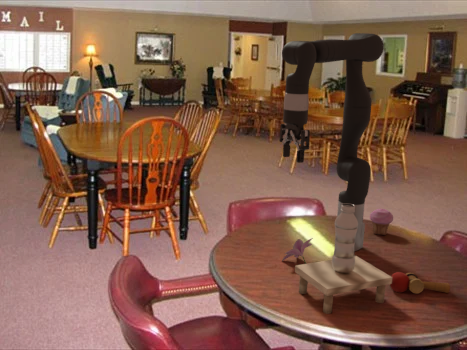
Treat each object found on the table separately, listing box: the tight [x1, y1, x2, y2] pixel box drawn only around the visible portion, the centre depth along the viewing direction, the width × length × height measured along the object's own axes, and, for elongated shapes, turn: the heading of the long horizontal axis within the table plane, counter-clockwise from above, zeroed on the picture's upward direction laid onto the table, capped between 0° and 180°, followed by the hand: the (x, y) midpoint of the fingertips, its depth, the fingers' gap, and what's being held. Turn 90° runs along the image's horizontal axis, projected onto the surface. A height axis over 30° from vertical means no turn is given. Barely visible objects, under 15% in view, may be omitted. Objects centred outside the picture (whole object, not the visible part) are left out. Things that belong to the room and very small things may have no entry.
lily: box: [281, 237, 314, 264], centre depth 189 cm, size 12×12×10 cm
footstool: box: [294, 255, 392, 315], centre depth 165 cm, size 22×17×8 cm
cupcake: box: [369, 207, 394, 236], centre depth 220 cm, size 9×9×10 cm
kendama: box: [389, 271, 451, 294], centre depth 171 cm, size 8×6×18 cm
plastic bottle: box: [331, 203, 358, 273], centre depth 162 cm, size 6×7×20 cm
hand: (292, 159), depth 178 cm, fingers open, 8 cm apart
